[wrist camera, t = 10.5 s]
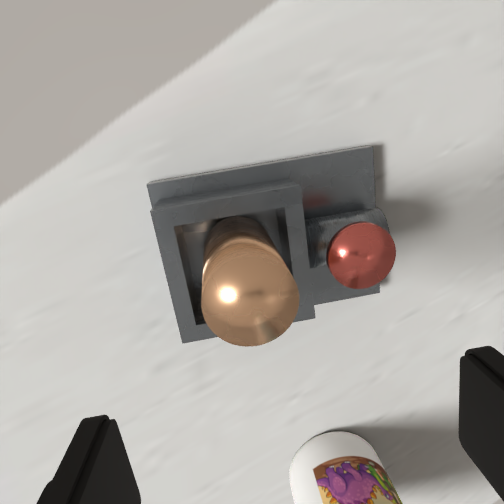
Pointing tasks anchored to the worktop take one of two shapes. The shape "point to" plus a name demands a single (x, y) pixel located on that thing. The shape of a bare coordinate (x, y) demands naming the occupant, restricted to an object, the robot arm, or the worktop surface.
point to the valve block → (278, 227)
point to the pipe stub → (246, 284)
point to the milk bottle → (340, 472)
